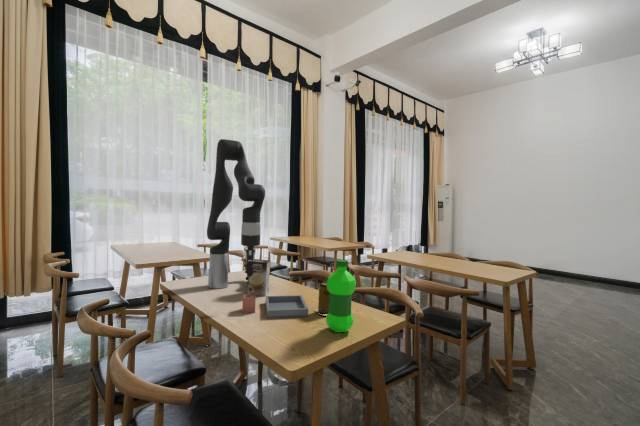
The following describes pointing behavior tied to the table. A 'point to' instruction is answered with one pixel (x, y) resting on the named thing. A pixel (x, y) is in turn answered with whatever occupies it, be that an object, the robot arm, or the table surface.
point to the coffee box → (259, 278)
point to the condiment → (323, 299)
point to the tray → (286, 306)
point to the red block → (249, 303)
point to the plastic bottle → (340, 298)
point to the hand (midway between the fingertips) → (249, 273)
